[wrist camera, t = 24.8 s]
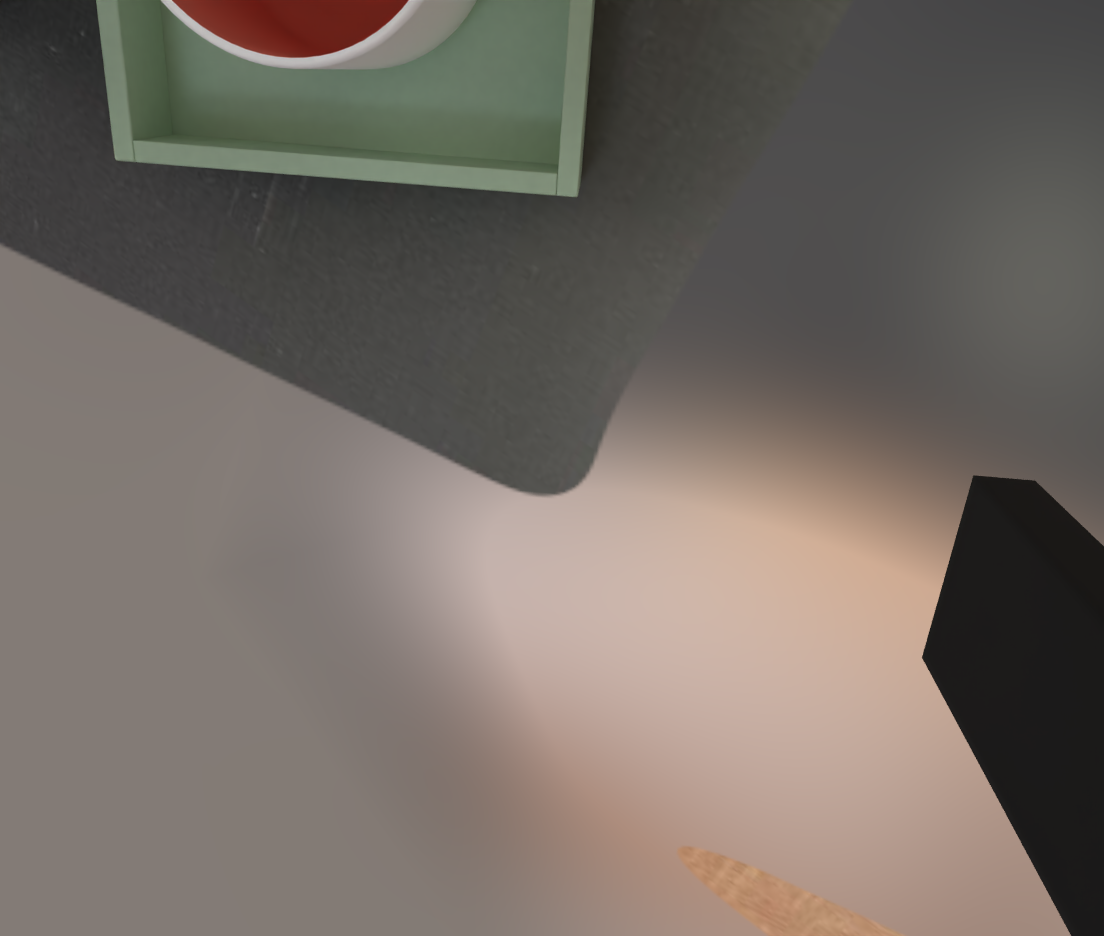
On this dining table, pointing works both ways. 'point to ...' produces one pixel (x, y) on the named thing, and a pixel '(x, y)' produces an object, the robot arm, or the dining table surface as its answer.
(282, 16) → the cup
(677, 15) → the dining table surface
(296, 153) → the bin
